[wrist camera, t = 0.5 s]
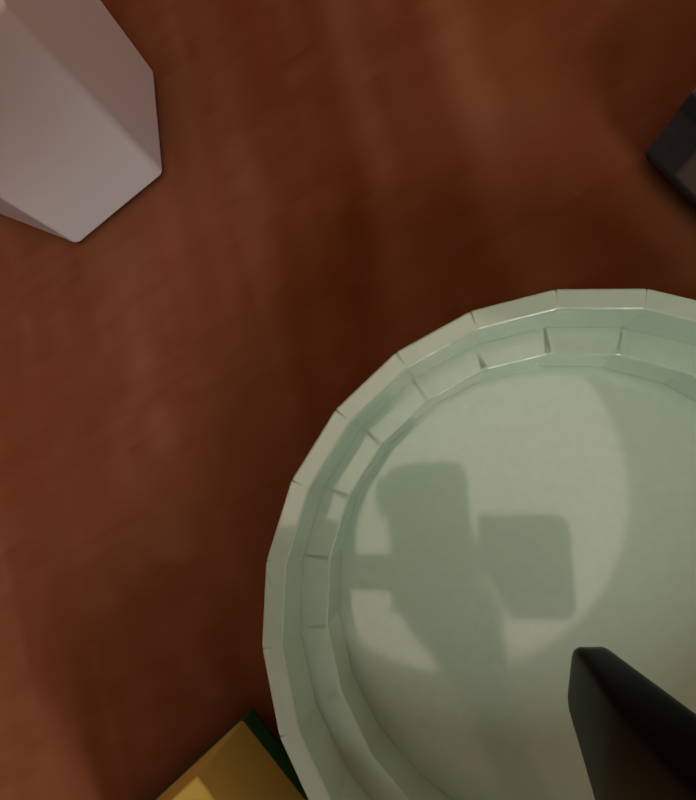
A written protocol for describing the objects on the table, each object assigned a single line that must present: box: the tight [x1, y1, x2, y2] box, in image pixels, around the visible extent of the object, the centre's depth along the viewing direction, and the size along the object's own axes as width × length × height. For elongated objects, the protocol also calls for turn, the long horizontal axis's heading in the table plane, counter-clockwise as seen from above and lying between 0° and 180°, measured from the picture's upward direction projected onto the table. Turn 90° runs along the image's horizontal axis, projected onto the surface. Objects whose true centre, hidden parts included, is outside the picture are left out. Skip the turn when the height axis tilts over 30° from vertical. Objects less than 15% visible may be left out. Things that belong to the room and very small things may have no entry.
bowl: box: [262, 288, 696, 800], centre depth 18 cm, size 18×18×5 cm
